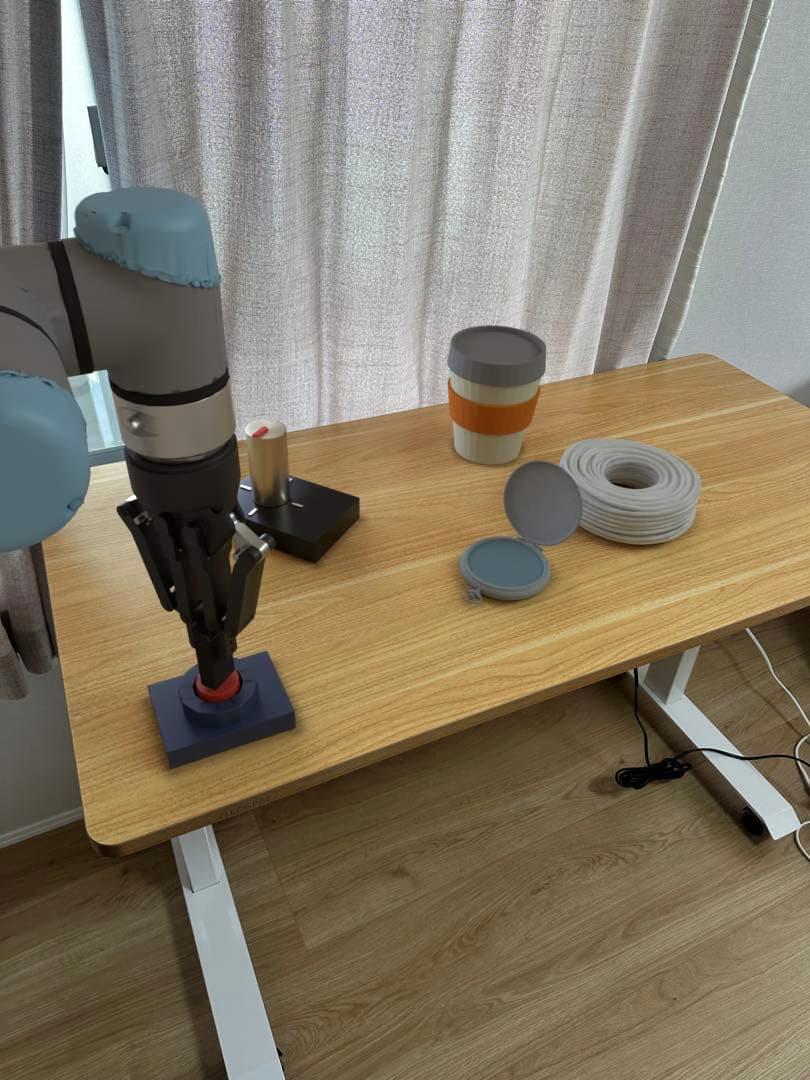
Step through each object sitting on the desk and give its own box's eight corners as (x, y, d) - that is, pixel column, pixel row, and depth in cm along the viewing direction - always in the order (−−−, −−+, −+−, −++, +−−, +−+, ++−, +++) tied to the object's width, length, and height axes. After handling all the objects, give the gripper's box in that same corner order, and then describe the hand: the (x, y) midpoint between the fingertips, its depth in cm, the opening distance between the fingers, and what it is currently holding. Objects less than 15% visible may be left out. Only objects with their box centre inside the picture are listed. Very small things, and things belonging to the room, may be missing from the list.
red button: (203, 714, 68) (201, 700, 67) (193, 685, 71) (191, 671, 70) (245, 701, 69) (243, 687, 68) (234, 673, 72) (232, 659, 71)
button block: (170, 769, 67) (163, 738, 64) (150, 701, 73) (143, 671, 70) (296, 727, 71) (294, 697, 68) (268, 666, 77) (265, 636, 74)
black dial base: (212, 527, 94) (209, 504, 92) (262, 485, 101) (260, 464, 99) (315, 564, 89) (314, 541, 87) (359, 518, 96) (359, 496, 94)
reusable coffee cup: (432, 463, 106) (439, 358, 97) (450, 419, 116) (458, 319, 107) (527, 478, 104) (543, 372, 95) (537, 432, 114) (553, 331, 105)
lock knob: (266, 482, 96) (260, 412, 90) (297, 492, 94) (293, 422, 89) (244, 500, 93) (237, 429, 87) (276, 511, 91) (271, 440, 86)
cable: (521, 496, 101) (527, 454, 97) (615, 455, 110) (623, 416, 106) (628, 569, 90) (640, 526, 86) (723, 518, 99) (737, 477, 95)
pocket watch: (596, 479, 85) (519, 544, 75) (578, 559, 91) (506, 629, 82) (516, 445, 89) (434, 503, 80) (505, 524, 96) (428, 586, 87)
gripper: (66, 437, 54) (128, 678, 68) (224, 491, 50) (256, 737, 64) (142, 392, 59) (186, 625, 74) (291, 437, 55) (306, 675, 69)
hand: (218, 676), depth 69 cm, fingers closed
